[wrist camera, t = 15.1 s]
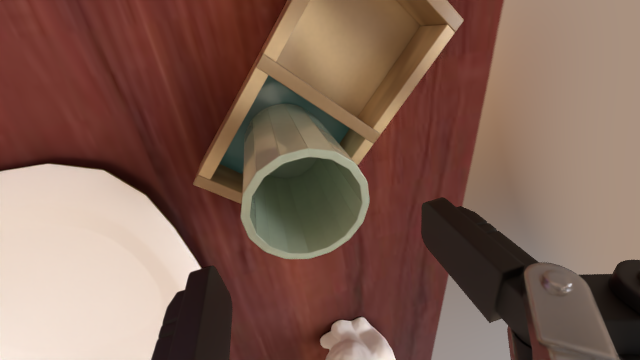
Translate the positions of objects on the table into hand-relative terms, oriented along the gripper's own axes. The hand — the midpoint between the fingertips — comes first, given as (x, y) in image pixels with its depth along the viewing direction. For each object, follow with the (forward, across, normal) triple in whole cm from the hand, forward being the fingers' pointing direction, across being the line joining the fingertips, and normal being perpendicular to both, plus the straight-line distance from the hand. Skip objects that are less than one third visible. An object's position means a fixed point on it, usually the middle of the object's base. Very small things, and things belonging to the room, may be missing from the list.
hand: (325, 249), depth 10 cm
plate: (+12, +21, +8) cm, 25 cm away
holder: (+12, -3, -3) cm, 13 cm away
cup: (+12, 0, 0) cm, 12 cm away
